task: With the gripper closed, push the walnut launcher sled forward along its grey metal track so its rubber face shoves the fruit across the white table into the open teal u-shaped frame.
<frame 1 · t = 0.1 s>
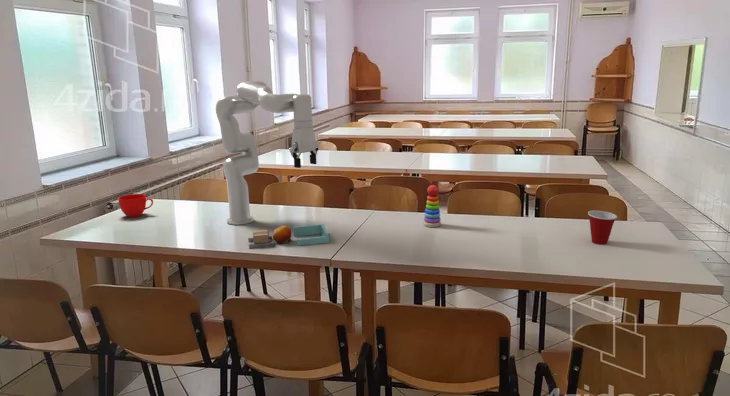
hand: (305, 165, 226), 31 cm above the table, tool pointing down, fingers open, 9 cm apart
teal u-shaped frame: (310, 238, 230), on the table
ceramic cup: (138, 216, 276), on the table
fruit: (282, 242, 228), on the table
launcher track: (261, 243, 226), on the table
plastic cup: (600, 242, 215), on the table
launcher sled: (261, 237, 225), point 3 cm above the table, slide at 0.0 cm
stacking toy: (432, 225, 245), on the table
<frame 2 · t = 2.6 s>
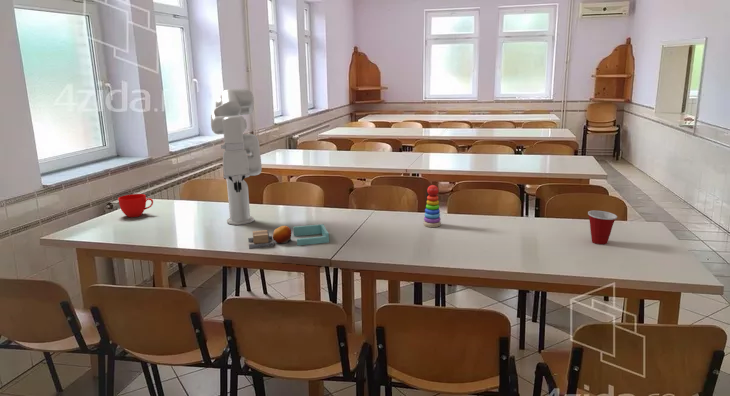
hand: (238, 191, 222), 22 cm above the table, tool pointing down, fingers closed
nothing on the table moved.
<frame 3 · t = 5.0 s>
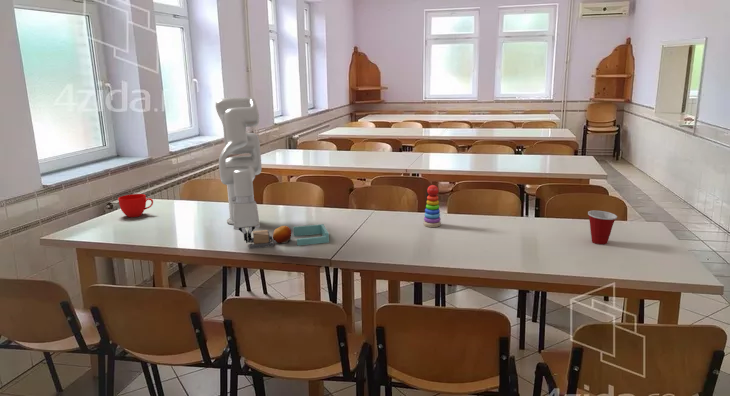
hand: (248, 241, 224), 1 cm above the table, tool pointing down, fingers closed
launcher sled: (261, 237, 225), point 3 cm above the table, slide at 0.2 cm, touching gripper
everything else where it was.
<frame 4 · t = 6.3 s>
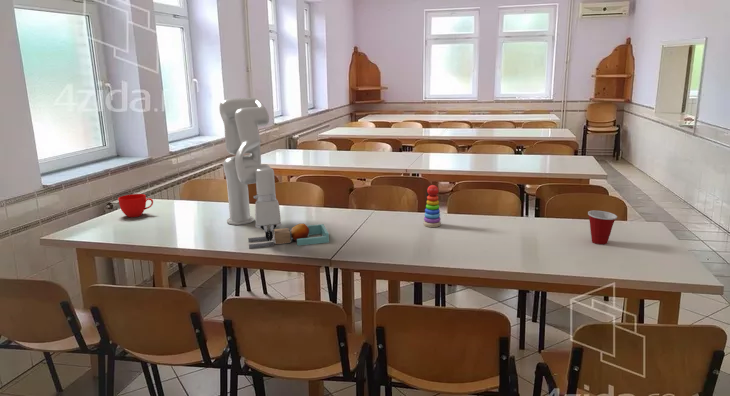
hand: (269, 239, 226), 1 cm above the table, tool pointing down, fingers closed
fruit: (300, 240, 230), on the table
launcher sled: (282, 235, 227), point 3 cm above the table, slide at 9.0 cm, touching gripper
everything else where it was.
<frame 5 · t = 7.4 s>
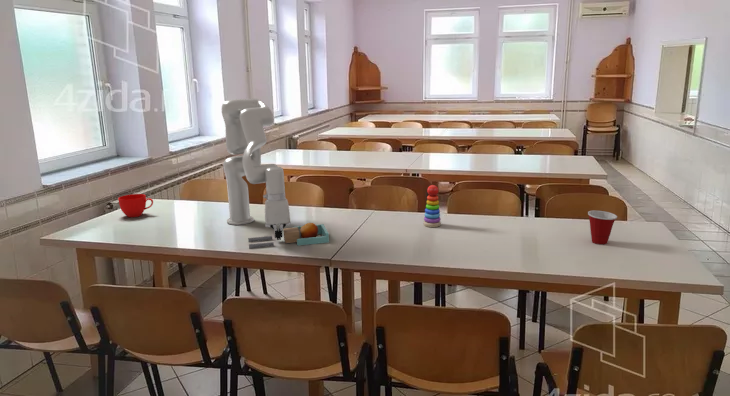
hand: (278, 239, 227), 1 cm above the table, tool pointing down, fingers closed
fruit: (309, 239, 231), on the table, touching launcher sled
launcher sled: (292, 235, 228), point 3 cm above the table, slide at 12.9 cm, touching fruit, gripper
everything else where it was.
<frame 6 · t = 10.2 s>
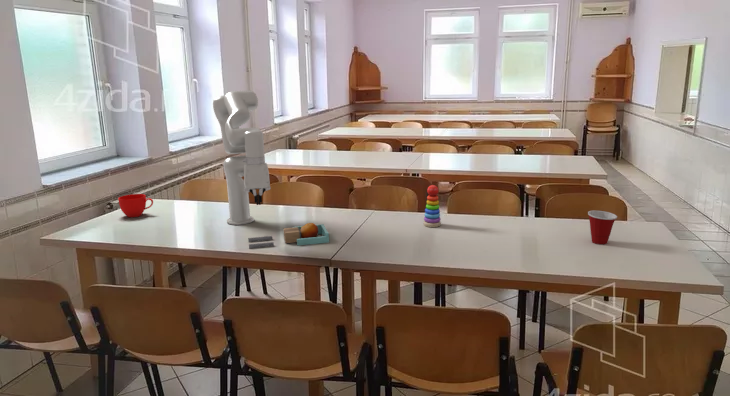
hand: (258, 204, 224), 17 cm above the table, tool pointing down, fingers closed
fruit: (309, 239, 231), on the table
launcher sled: (292, 235, 228), point 2 cm above the table, slide at 13.0 cm
everything else where it was.
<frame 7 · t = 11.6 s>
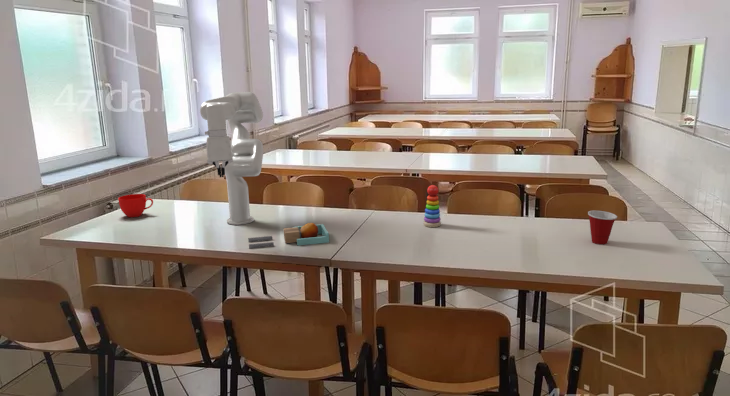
hand: (221, 176, 229), 27 cm above the table, tool pointing down, fingers closed
nothing on the table moved.
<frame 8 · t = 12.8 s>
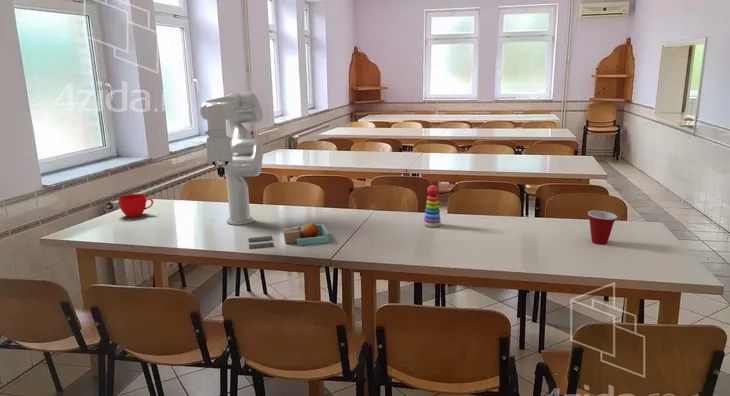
hand: (221, 176, 229), 27 cm above the table, tool pointing down, fingers closed
nothing on the table moved.
at the end: fruit inside the target area (1.2 cm from its centre), on the table; fruit moved 11.5 cm from its start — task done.
